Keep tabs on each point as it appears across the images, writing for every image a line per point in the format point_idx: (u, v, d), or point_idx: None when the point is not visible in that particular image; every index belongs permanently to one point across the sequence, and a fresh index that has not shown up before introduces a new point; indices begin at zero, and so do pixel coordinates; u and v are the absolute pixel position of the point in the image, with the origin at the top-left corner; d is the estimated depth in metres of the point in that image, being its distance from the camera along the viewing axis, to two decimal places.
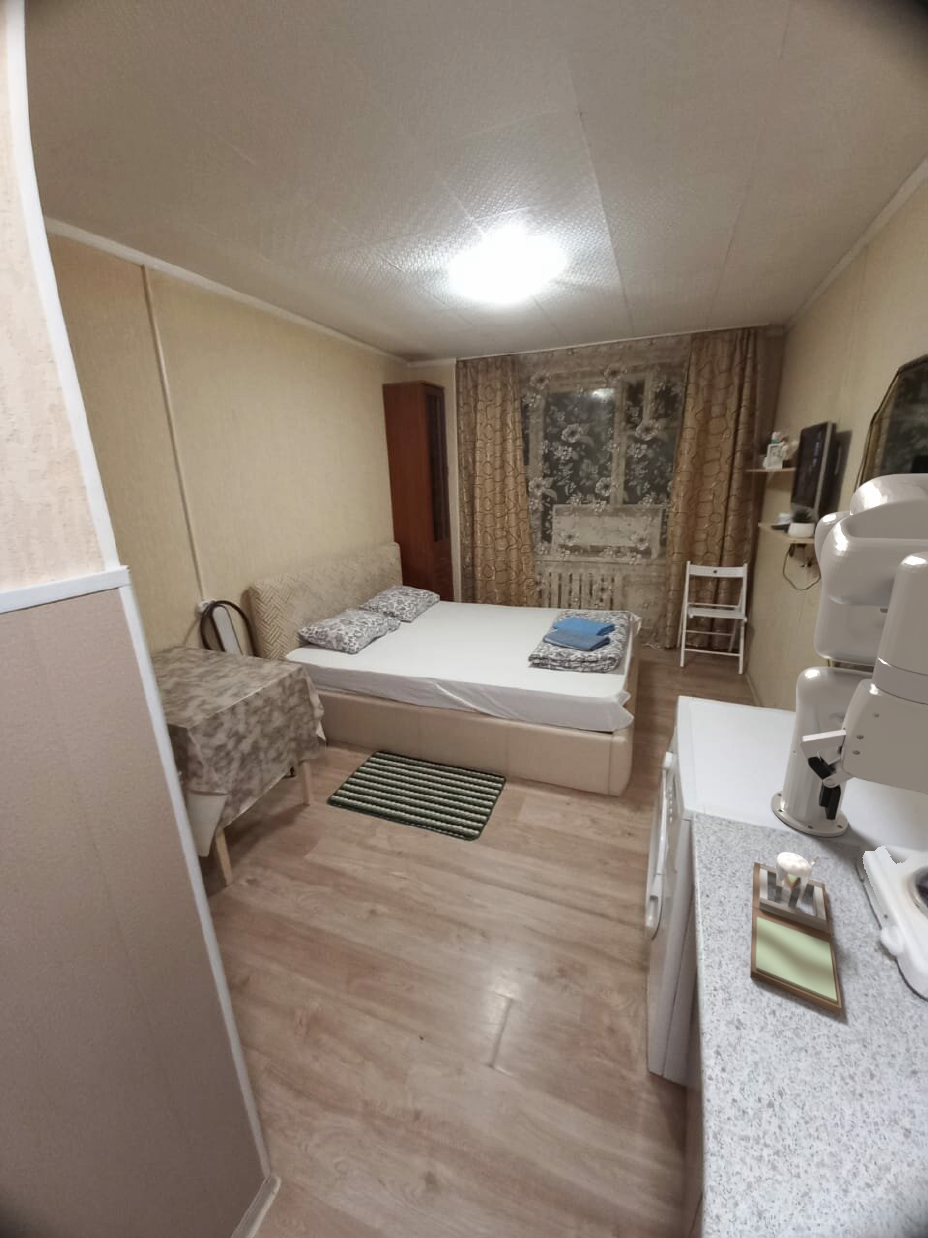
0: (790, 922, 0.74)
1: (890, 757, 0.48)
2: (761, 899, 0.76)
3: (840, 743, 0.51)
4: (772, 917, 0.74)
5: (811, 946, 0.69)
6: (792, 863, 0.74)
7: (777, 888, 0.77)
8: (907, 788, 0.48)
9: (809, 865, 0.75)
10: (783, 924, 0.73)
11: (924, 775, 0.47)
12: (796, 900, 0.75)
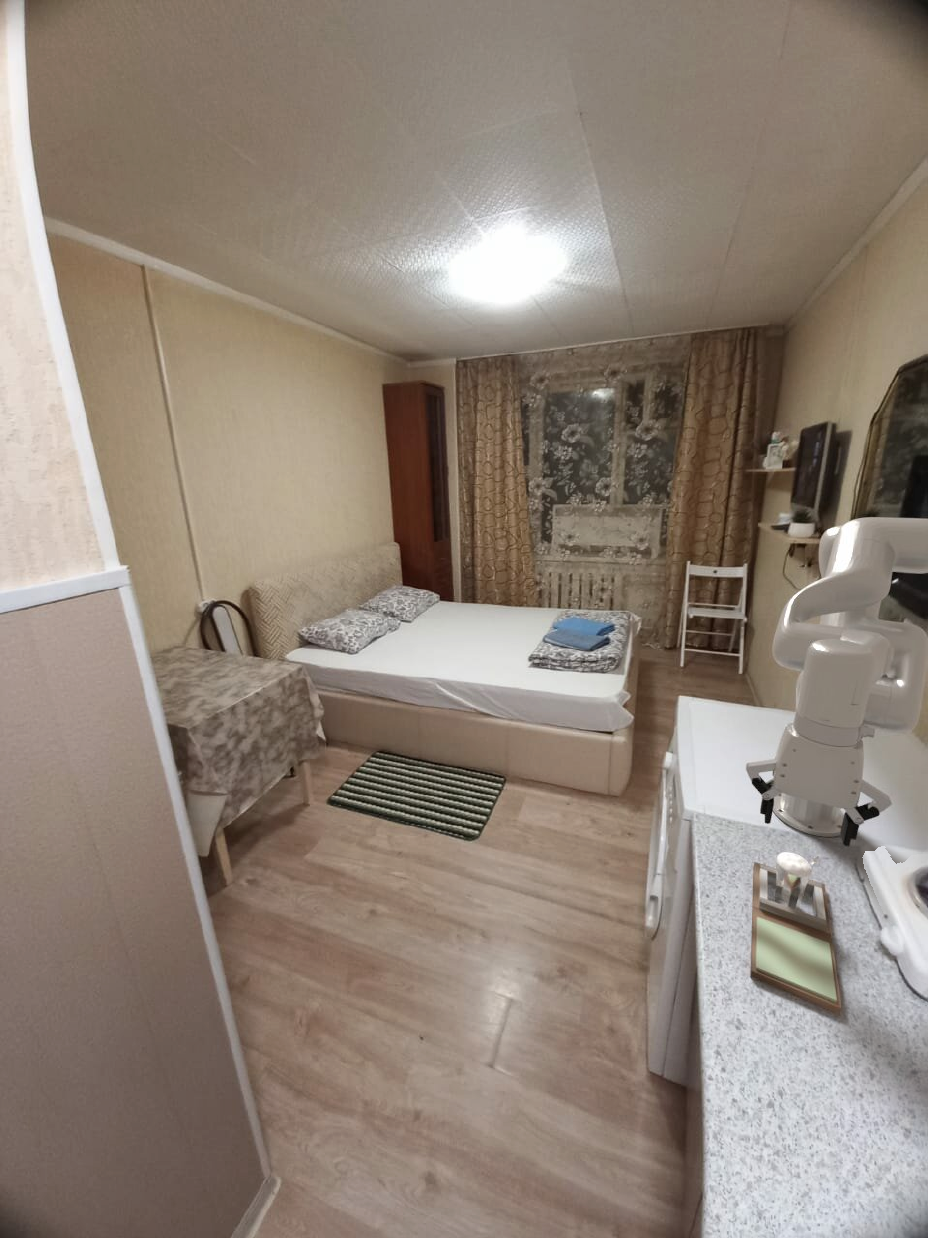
0: (790, 922, 0.74)
1: (804, 779, 0.69)
2: (761, 899, 0.76)
3: (773, 768, 0.72)
4: (772, 917, 0.74)
5: (811, 946, 0.69)
6: (792, 863, 0.74)
7: (777, 888, 0.77)
8: (816, 801, 0.69)
9: (809, 865, 0.75)
10: (783, 924, 0.73)
11: (826, 792, 0.68)
12: (796, 900, 0.75)
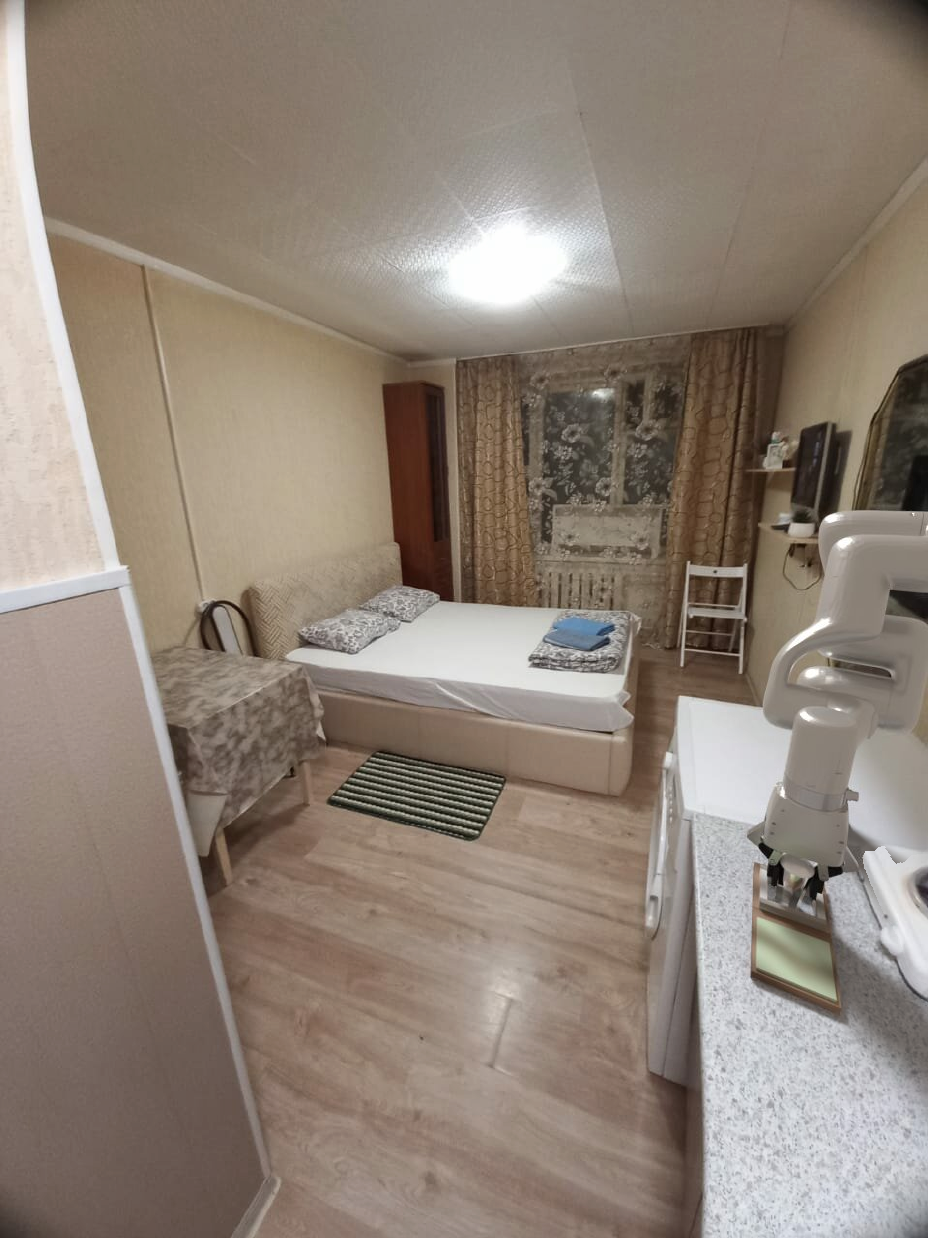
0: (790, 922, 0.74)
1: (792, 838, 0.72)
2: (761, 899, 0.76)
3: None
4: (772, 917, 0.74)
5: (811, 946, 0.69)
6: (795, 864, 0.74)
7: (778, 888, 0.77)
8: (804, 858, 0.73)
9: (812, 866, 0.74)
10: (783, 924, 0.73)
11: (813, 851, 0.71)
12: (797, 900, 0.75)
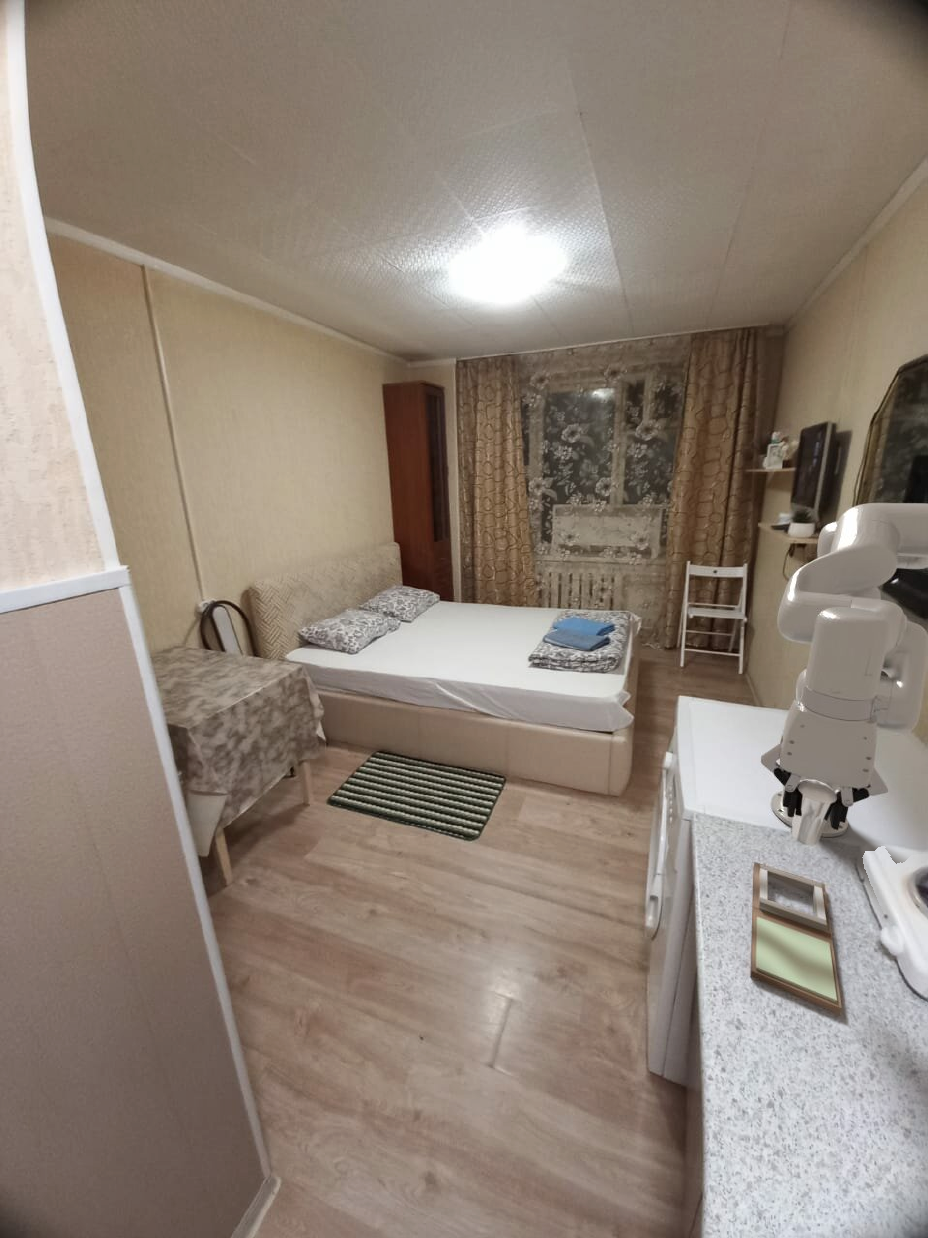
0: (790, 922, 0.74)
1: (812, 757, 0.65)
2: (761, 899, 0.76)
3: None
4: (772, 917, 0.74)
5: (811, 946, 0.69)
6: (815, 789, 0.67)
7: (796, 818, 0.69)
8: (825, 780, 0.65)
9: (834, 792, 0.67)
10: (783, 924, 0.73)
11: (836, 770, 0.64)
12: (817, 831, 0.68)
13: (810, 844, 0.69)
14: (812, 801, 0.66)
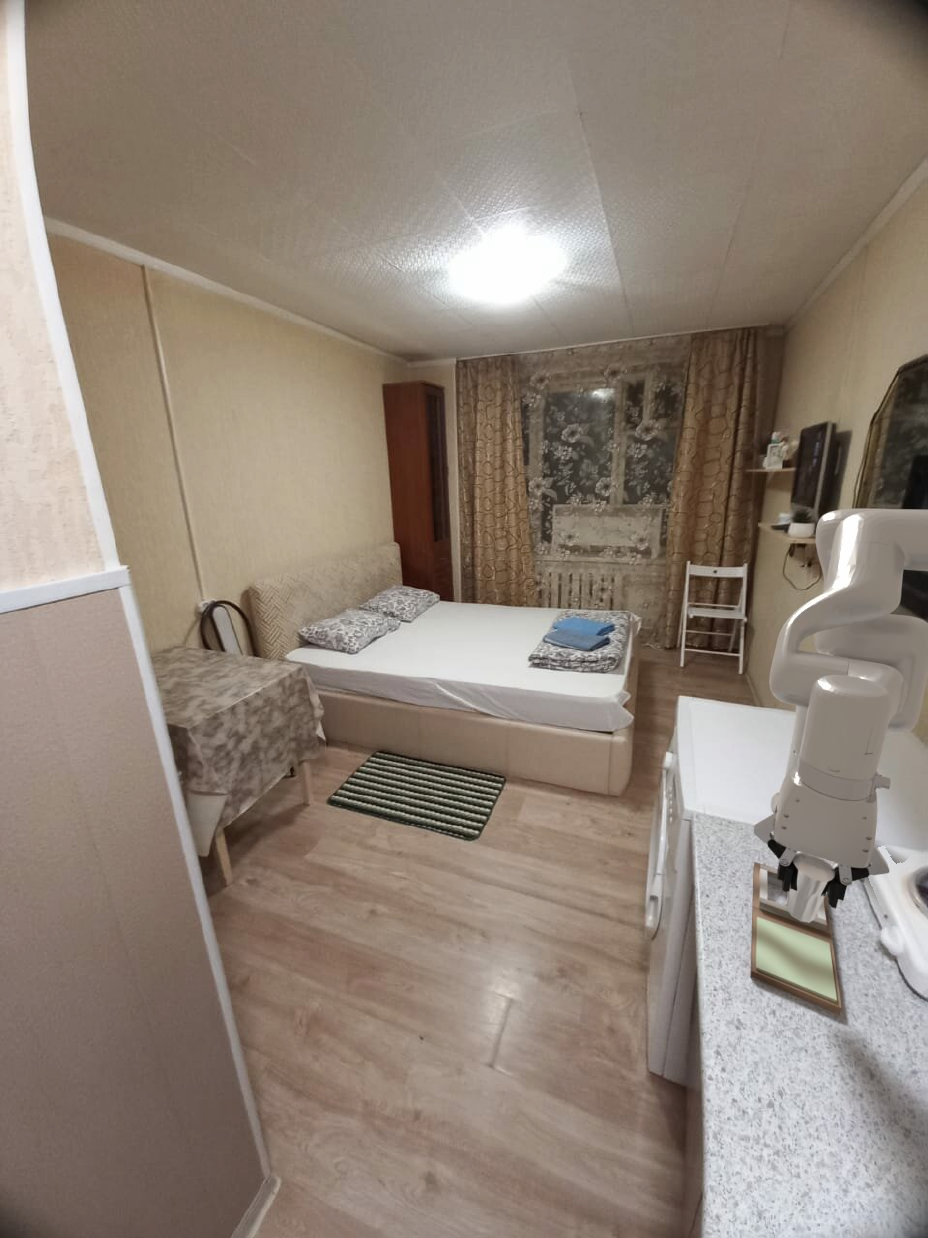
0: (790, 922, 0.74)
1: (809, 834, 0.61)
2: (761, 899, 0.76)
3: None
4: (772, 917, 0.74)
5: (811, 946, 0.69)
6: (812, 865, 0.62)
7: (791, 893, 0.65)
8: (822, 857, 0.61)
9: (832, 867, 0.63)
10: (783, 924, 0.73)
11: (834, 849, 0.60)
12: (814, 908, 0.63)
13: (806, 920, 0.64)
14: (808, 878, 0.62)
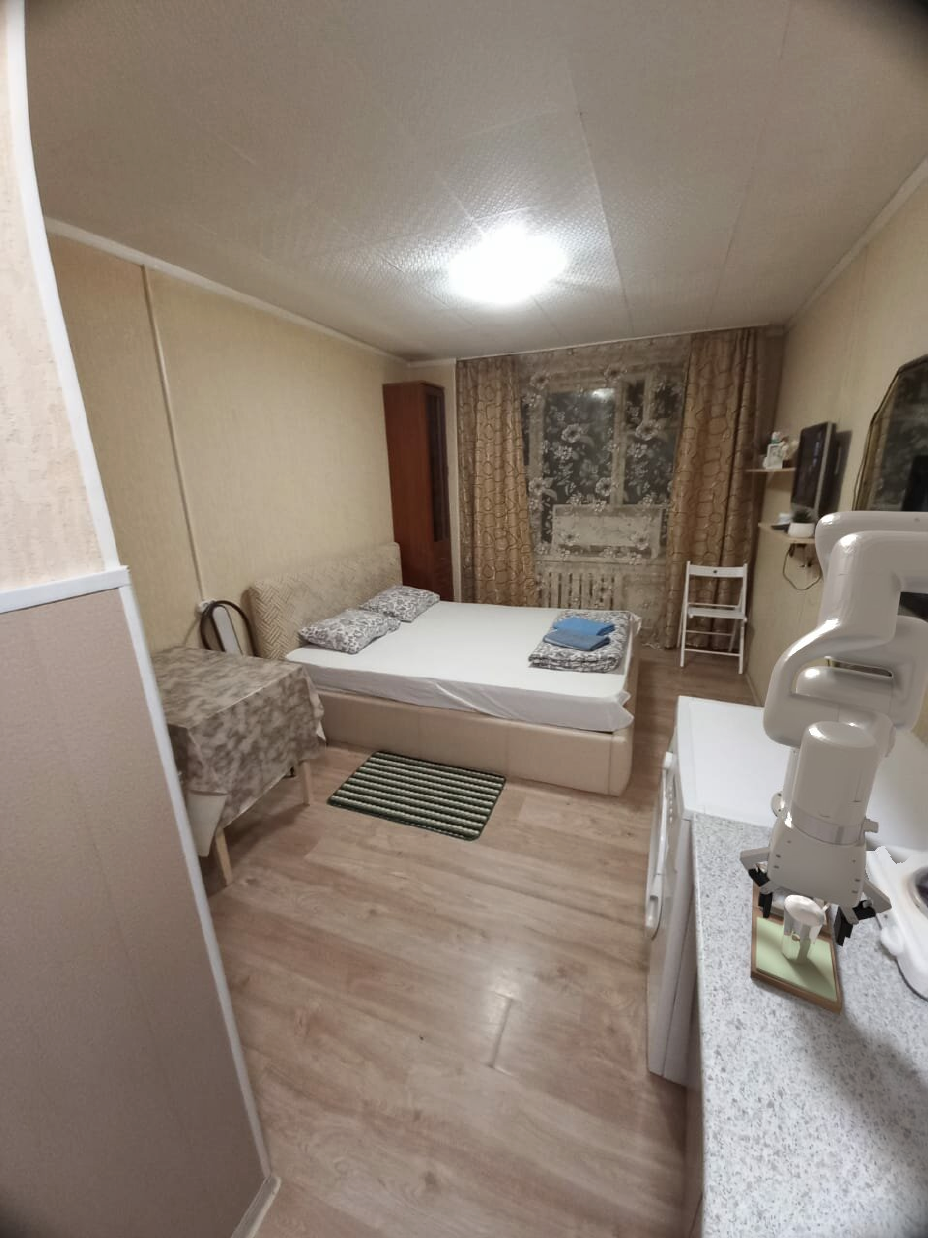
0: None
1: (800, 874, 0.63)
2: None
3: (767, 858, 0.66)
4: (772, 917, 0.74)
5: None
6: (802, 910, 0.65)
7: (785, 936, 0.68)
8: (814, 896, 0.63)
9: (821, 911, 0.65)
10: None
11: (825, 889, 0.62)
12: (807, 951, 0.66)
13: (801, 963, 0.67)
14: (800, 923, 0.65)
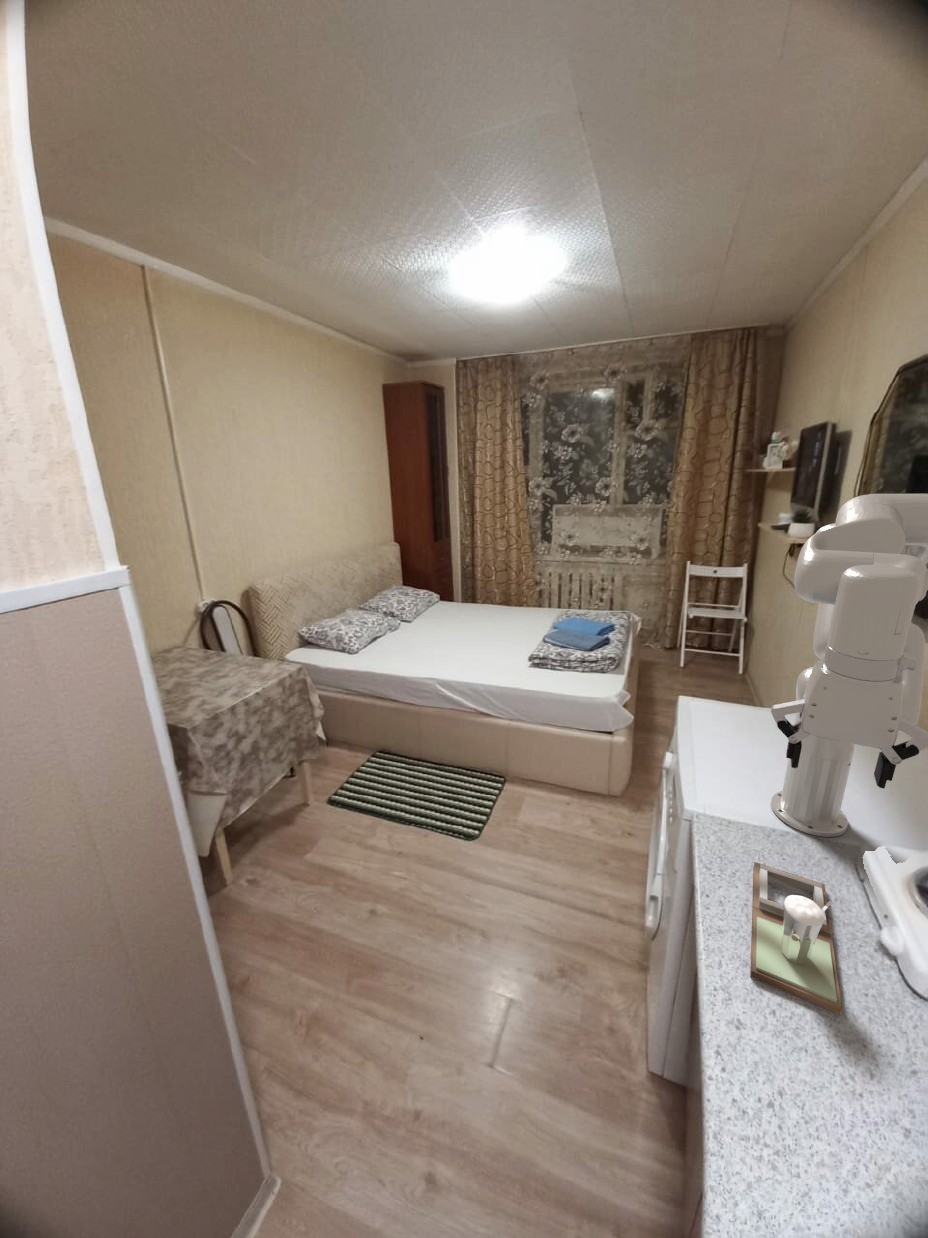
0: None
1: (836, 719, 0.64)
2: (761, 899, 0.76)
3: (800, 709, 0.67)
4: (772, 917, 0.74)
5: None
6: (802, 910, 0.65)
7: (785, 936, 0.68)
8: (849, 742, 0.64)
9: (821, 911, 0.65)
10: None
11: (860, 731, 0.63)
12: (807, 951, 0.66)
13: (801, 963, 0.67)
14: (800, 923, 0.65)
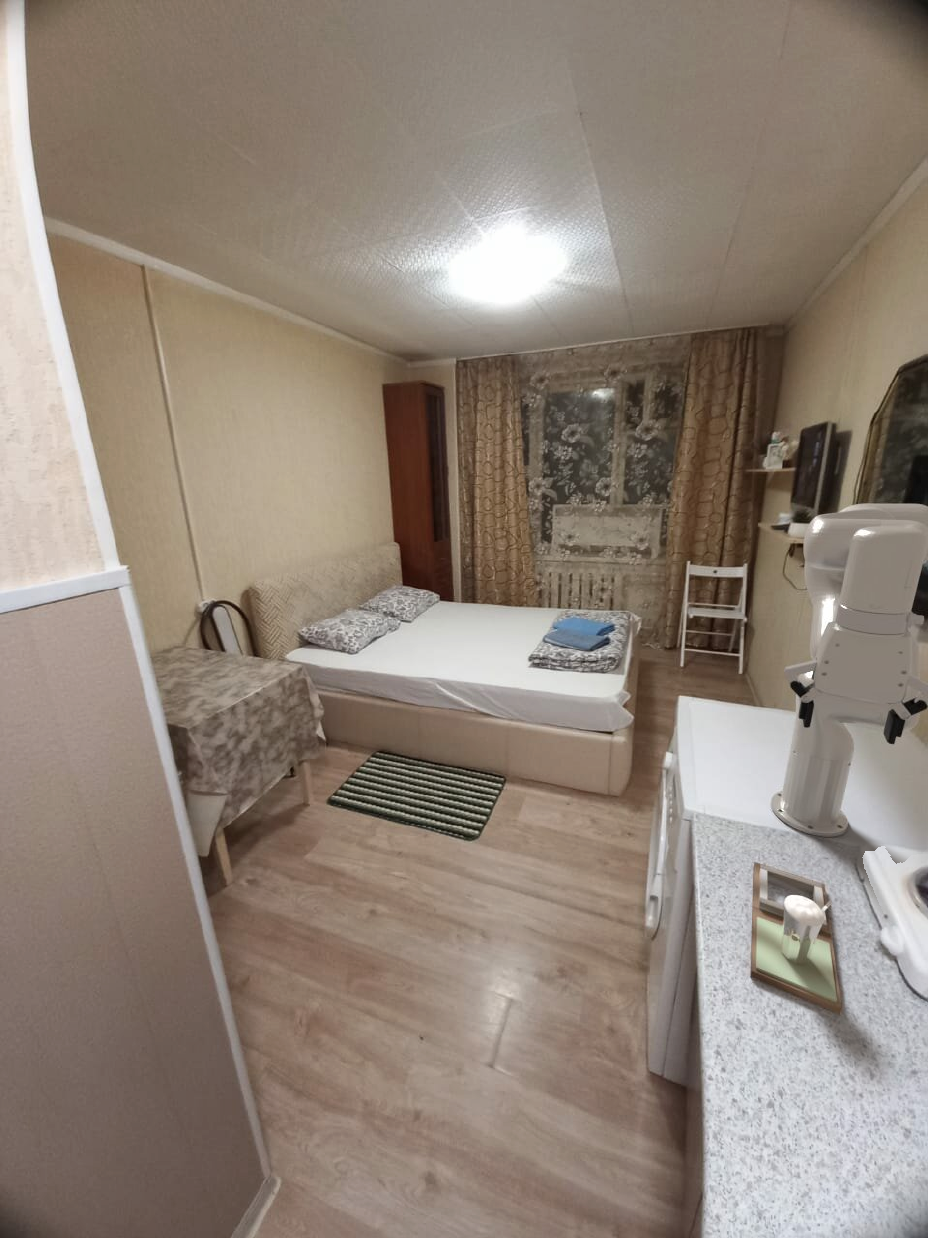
0: None
1: (847, 675, 0.67)
2: (761, 899, 0.76)
3: (813, 669, 0.70)
4: (772, 917, 0.74)
5: None
6: (802, 910, 0.65)
7: (785, 936, 0.68)
8: (860, 698, 0.67)
9: (821, 911, 0.65)
10: None
11: (871, 687, 0.66)
12: (807, 951, 0.66)
13: (801, 963, 0.67)
14: (800, 923, 0.65)
